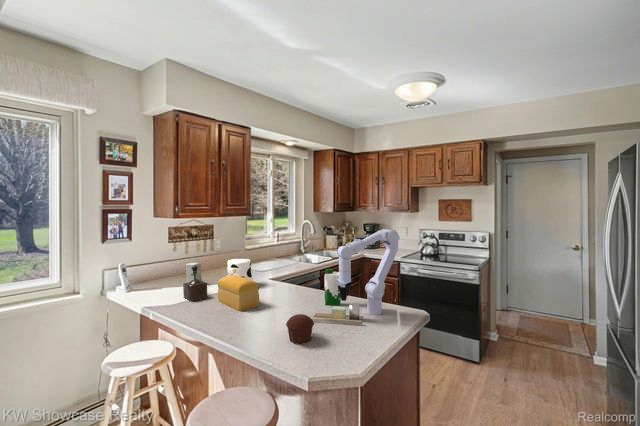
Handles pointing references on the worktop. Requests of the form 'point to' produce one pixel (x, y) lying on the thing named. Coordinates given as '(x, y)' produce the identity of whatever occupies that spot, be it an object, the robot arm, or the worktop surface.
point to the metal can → (354, 311)
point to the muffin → (300, 328)
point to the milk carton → (332, 288)
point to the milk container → (240, 268)
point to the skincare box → (190, 271)
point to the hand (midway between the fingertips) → (344, 298)
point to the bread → (238, 292)
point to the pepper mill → (195, 288)
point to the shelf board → (328, 319)
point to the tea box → (338, 312)
